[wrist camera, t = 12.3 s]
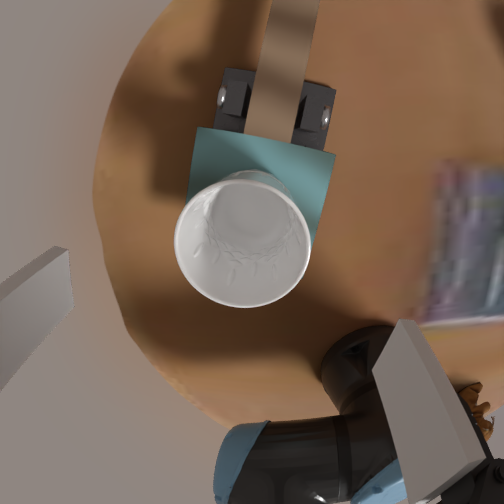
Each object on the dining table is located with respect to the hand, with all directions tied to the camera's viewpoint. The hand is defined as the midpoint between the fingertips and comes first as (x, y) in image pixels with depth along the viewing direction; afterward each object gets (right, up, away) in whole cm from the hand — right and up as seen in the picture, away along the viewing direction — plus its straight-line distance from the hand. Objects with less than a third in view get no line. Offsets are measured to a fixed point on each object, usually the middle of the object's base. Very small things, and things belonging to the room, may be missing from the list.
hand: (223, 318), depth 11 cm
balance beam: (+3, +16, +13) cm, 21 cm away
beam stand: (+3, +18, +19) cm, 26 cm away
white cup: (+1, +6, +16) cm, 17 cm away
